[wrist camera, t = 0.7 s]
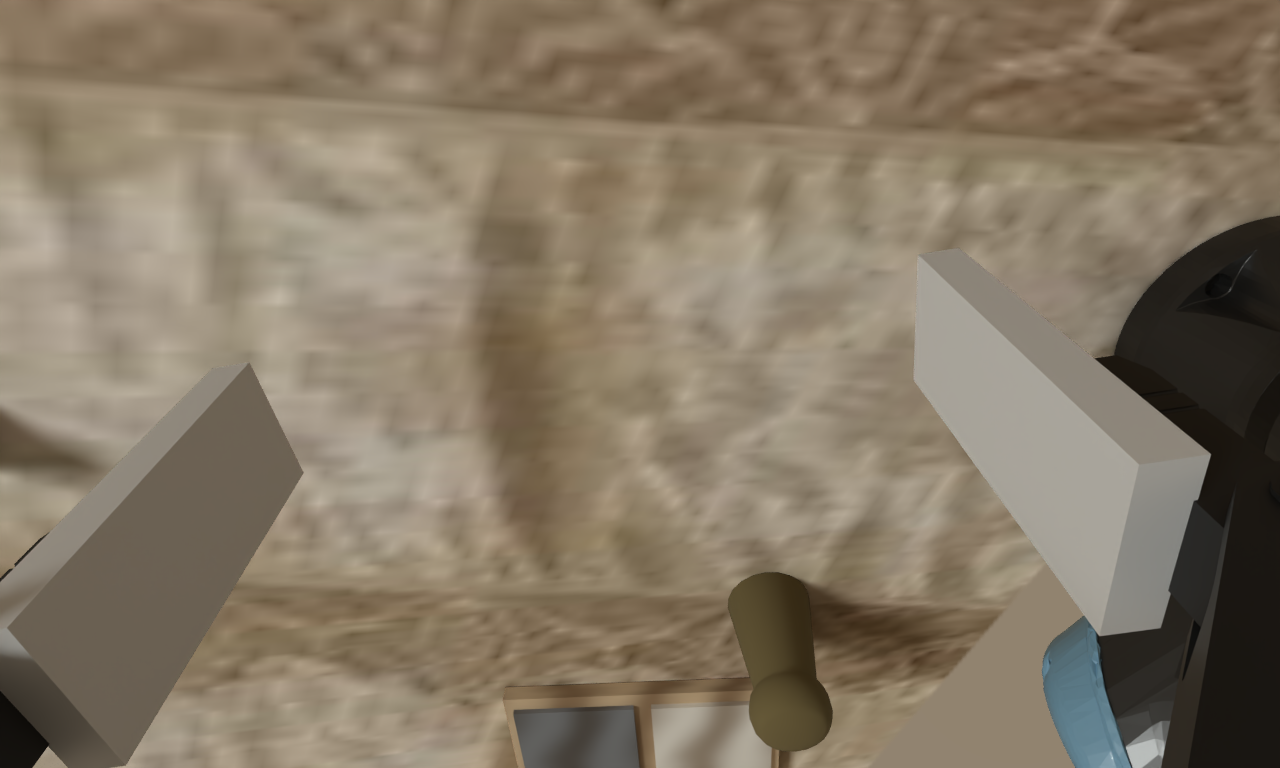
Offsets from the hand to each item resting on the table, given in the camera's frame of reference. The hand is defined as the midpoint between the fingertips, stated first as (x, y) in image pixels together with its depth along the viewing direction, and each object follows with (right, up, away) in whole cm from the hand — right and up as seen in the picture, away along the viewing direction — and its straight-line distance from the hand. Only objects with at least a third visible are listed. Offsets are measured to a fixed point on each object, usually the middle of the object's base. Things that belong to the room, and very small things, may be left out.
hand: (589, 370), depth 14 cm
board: (+2, -29, +47) cm, 55 cm away
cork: (+11, -17, +40) cm, 44 cm away
